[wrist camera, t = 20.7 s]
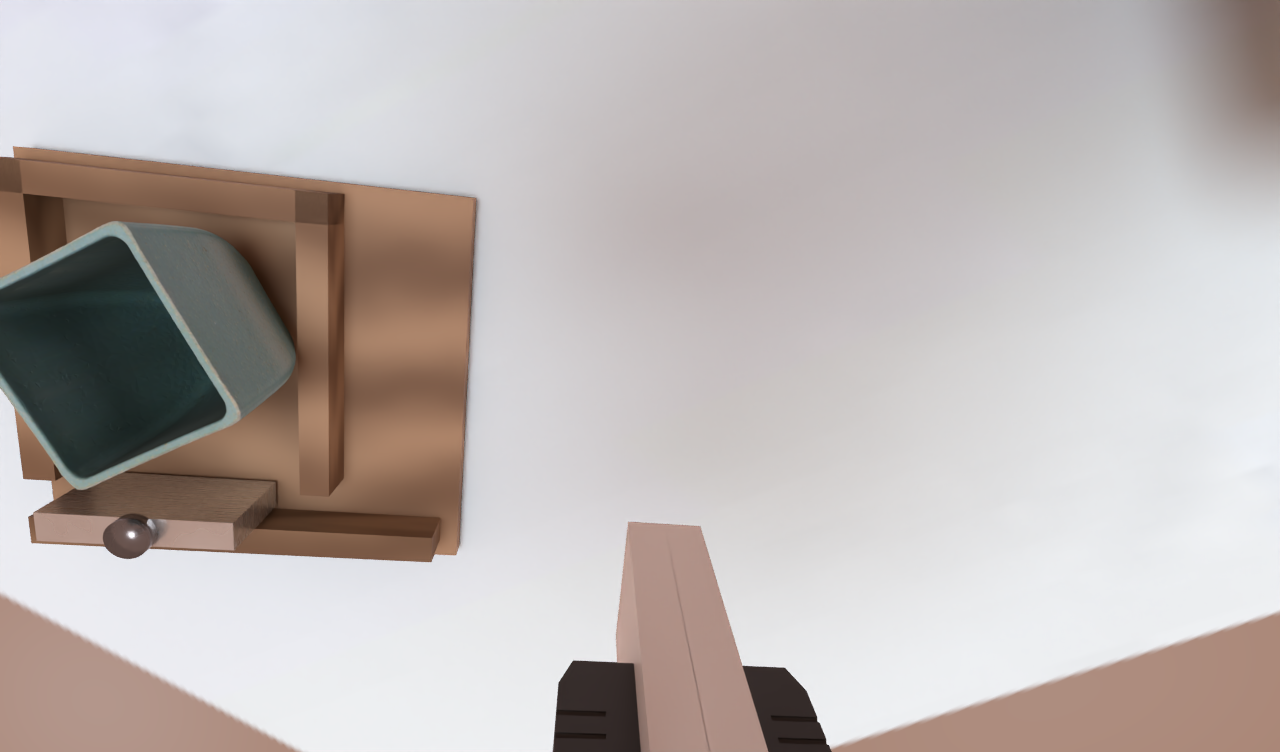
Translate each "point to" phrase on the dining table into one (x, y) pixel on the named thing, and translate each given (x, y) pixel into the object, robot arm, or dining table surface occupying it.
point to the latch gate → (157, 513)
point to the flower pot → (136, 345)
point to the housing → (301, 341)
